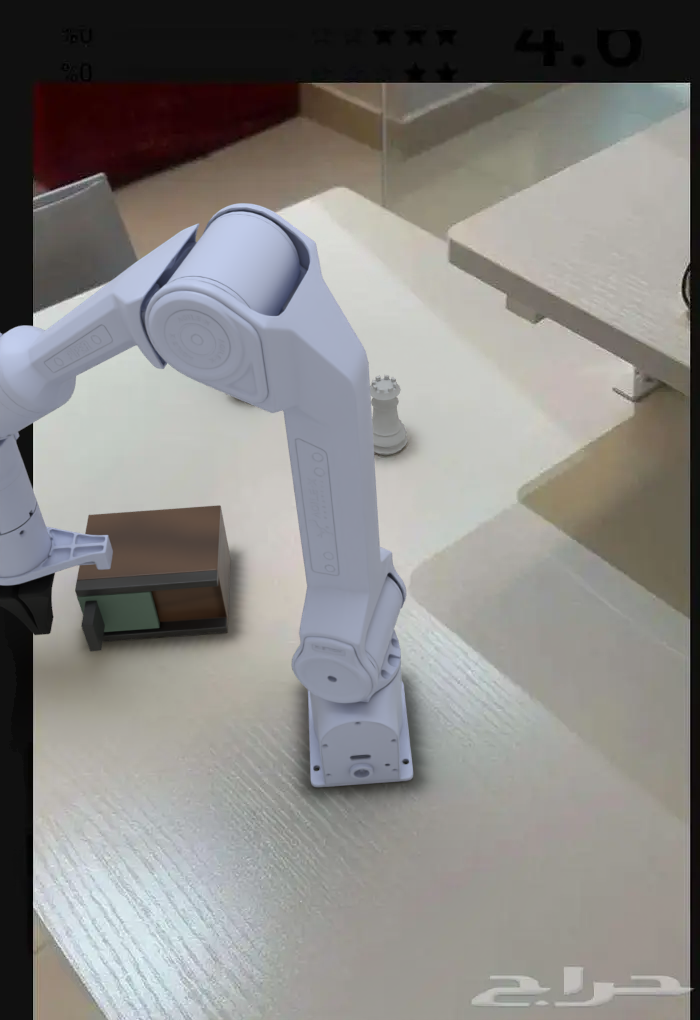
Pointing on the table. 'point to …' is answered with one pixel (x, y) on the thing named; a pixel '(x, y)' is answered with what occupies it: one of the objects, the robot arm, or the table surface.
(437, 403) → the table surface
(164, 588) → the closet
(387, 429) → the rook chess piece
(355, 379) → the robot arm
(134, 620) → the closet door
